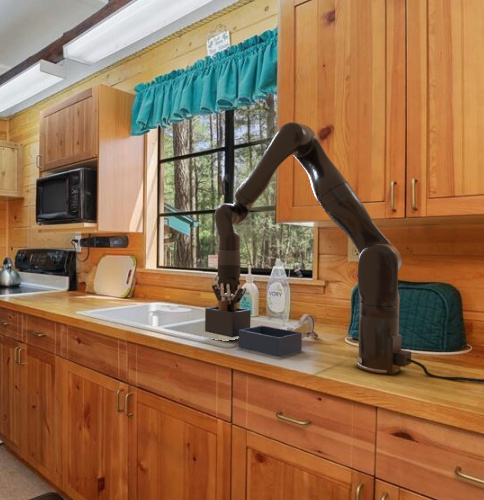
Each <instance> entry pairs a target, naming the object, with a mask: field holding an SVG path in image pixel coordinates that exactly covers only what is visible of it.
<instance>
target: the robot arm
mask: <svg viewBox="0 0 484 500" xmlns="http://www.w3.org/2000/svg"><path fill="white" fill-rule="evenodd" d="M290 156H293V157H294V158H295V159H296V160H297V161H298V163H299V164H300V165H301V166H302V168H303V169H304V170H305V172H306V174H307V176H308V178H309V182H310V186H311V189H312V192H313V195H314V197H315V198H316V200H317V202H318V204H319V205H320V206H321V208H322V209H323V211H324V213H325V214H326V215H327V216H328V218H330V220H331V221H332V222H333V223H334V224H335V225H336V226H337V227H338V228H339V229H340V230H341V231H342V232H343V233H344V234H346V236H347V237H348V238H349V239H350V240H351V242H352V244H353V245H354V246H355V248H356V250H357V252H358V254H359V256H358V262H357V290H358V295H359V313H358V314H359V319H358V355H356V361H357V367H358V368H359V369H361V370H362V371H365V372H370V373H374V374H383V375H385V374H386V375H390V376H393V375H394V374H397V373H399V372H401V369H402V367H403V368H405V367H408V366H409V365H411V364H415V365H417V366H419V367H420V368H421V369H422V370H423V372H424V374H425V375H427V376H428V377H431V378H436V379H443V380H450V381H466V382H474V383H484V378H473V377H464V376H442V375H436V374H433V373H431V372H429V371H428V369H427V367H426V366H425V365H424V364H422V363H421V362H419V361H417V360H414V359H412V351H409V350H404V349H402V334H400V333H399V330H400V329H399V328H400V327H399V326H400V294H399V286H398V285H399V271H400V269H401V268H402V265H403V258H402V255H401V253H400V252H399V250H398V249H397V248H396V246H394V245H393V243H392V242H391V241H390V240H389V239H388V238H387V237H386V236H385V235H384V234H383V232H382V231H381V230H380V229H379V227H378V226H377V225H376V223H375V222H374V220H373V219H372V218H371V215H370V213H369V211H368V210H367V208H366V207H365V206H364V203H363V202H362V201H361V198H360V197H359V196H358V194H357V193H356V191H355V190H354V189H353V186H351V184H350V183H349V182H348V180H347V179H346V178H345V176H344V174H342V173H341V171H340V170H339V168H337V166H336V165H335V164H334V162H333V161H332V160H331V158H329V156H328V155H327V153H326V151H325V150H324V148H323V146H322V144H321V143H320V140H319V139H318V137H317V135H316V133H315V132H314V131H313V129H312V128H311V127H309V125H306V124H303V123H299V122H296V121H295V122H294V121H290V122H286V123H284V124H283V125H282V126H281V127H279V129H278V130H277V131H276V133H275V135H274V136H273V138H272V140H271V141H270V143H269V144H268V146H267V148H266V149H265V151H264V153H263V155H262V156H261V158H260V159H259V161H258V162H257V163H256V165H255V167H254V168H253V169H252V171H251V172H250V173H249V175H248V176H247V177H246V178H245V179H244V181H243V182H242V183H241V184H240V186H238V188H237V189H236V190H235V192H234V194H233V195H234V199H235V201H234V202H233V204H232V203H221V204H219V205H218V206H217V208H216V209H215V213H214V222H215V227H216V232H217V236H218V252H217V277H218V280H217V283H216V284H212V285H211V288H212V291H213V293H214V296H215V298H216V299H217V302H218V301H222V300H228V310H227V312H234V304H235V303H237V304H239V303H240V302H241V300H242V298H243V297H244V295H245V293H246V292H247V288H246V287H243V286H242V285H241V281H240V278H241V261H242V260H241V236H240V234H239V233H238V232H236V231H235V230H234V226H238V225H240V224H241V223H243V222H244V221H245V220H246V219H247V217H248V215H249V213H250V211H251V209H252V207H253V205H254V204H255V203H256V202H257V200H258V199H259V198H260V197H261V196H262V195H263V194H264V192H265V191H266V190H267V188H268V187H269V185H270V183H271V180H272V178H273V176H274V174H275V172H276V171H277V169H278V168H279V167H280V165H281V164H283V162H285V161H286V160H287V159H288V158H289V157H290Z"/></svg>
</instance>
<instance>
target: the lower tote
mask: <svg viewBox="0 0 484 500" xmlns="http://www.w3.org/2000/svg"><path fill="white" fill-rule="evenodd" d="M302 341H303V340H302V333H301V332H295V331H290V330H287V329H283V328H278V327H274V326H268V325H263V324H262V325H261V324H260V325H256V326H250V328H247V329H242V330H239V336H238V348H240V349H243V350H247V351H251V352H256V353H260V354H264V355H269V356H272V357H278V358H281V357H284V356H289V355H291V354H294V353H299V352H301V351H302V347H303V346H302V345H303V344H302V343H303V342H302Z"/></svg>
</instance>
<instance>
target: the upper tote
mask: <svg viewBox="0 0 484 500" xmlns="http://www.w3.org/2000/svg"><path fill="white" fill-rule="evenodd" d="M217 302H218V303H217V304H218V305H217V306H209V307H205V308H204V313H205V314H204V317H205V318H204V332H205V333H210V334H214V335H218V336H224V337H227V338H228V337H229V338H237V337H239V330H242V329H247V328H251V319H252V318H251V316H252V315H251V313H252V312H251V309H249V308H242V307H238V303H235V304H234V312H227V310H228V300H222V301H218V300H217Z"/></svg>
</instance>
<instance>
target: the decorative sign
mask: <svg viewBox="0 0 484 500" xmlns="http://www.w3.org/2000/svg"><path fill="white" fill-rule="evenodd" d="M286 330H290V331H295V332H301V333H302V339H304V338H310V337H312V338H313V339H315V340H316V339H318V338H319V334H318V333H317V332H316V331H314V330H315V319H314V317H313V315H311V314H307V313H305V314H302V316H301V317H300V319H299V320H298V324H297V325H295V326H293V327H290V326H289V327H287V329H286Z"/></svg>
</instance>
